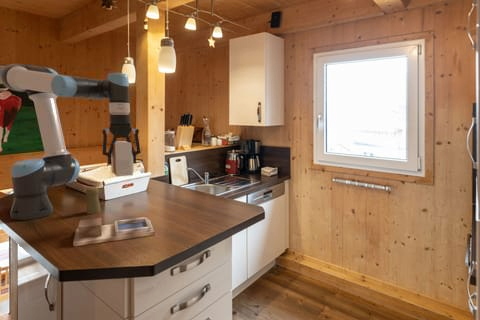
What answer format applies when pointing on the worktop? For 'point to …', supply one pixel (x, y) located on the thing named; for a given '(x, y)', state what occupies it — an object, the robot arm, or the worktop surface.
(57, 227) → the worktop surface
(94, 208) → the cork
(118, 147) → the small box
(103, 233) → the board
